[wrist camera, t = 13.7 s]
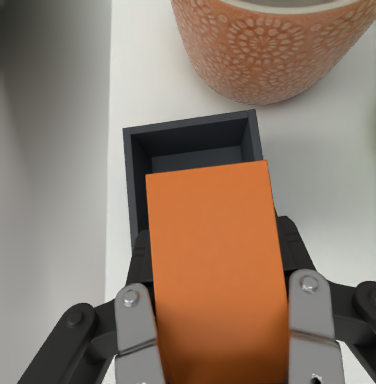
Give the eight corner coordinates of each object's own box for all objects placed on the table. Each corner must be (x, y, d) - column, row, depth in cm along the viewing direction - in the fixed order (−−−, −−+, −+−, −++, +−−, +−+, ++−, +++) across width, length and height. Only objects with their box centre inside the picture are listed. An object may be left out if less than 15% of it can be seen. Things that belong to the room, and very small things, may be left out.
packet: (191, 316, 18) (163, 417, 9) (180, 201, 20) (144, 173, 10) (256, 312, 18) (304, 411, 8) (241, 195, 19) (267, 159, 9)
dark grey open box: (155, 253, 35) (132, 262, 26) (146, 154, 37) (122, 128, 28) (259, 242, 34) (276, 248, 24) (244, 140, 36) (255, 108, 26)
